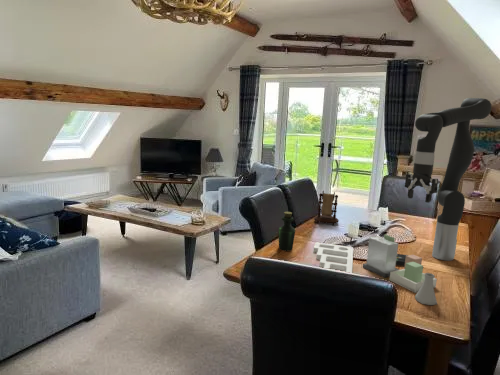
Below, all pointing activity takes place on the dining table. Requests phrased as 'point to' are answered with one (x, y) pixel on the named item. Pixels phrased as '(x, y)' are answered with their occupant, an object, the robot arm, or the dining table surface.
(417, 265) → the sage block
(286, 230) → the potion bottle
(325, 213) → the scroll
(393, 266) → the block
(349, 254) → the holder
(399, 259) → the disk drive
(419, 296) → the flask
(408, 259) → the terracotta block
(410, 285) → the tray
